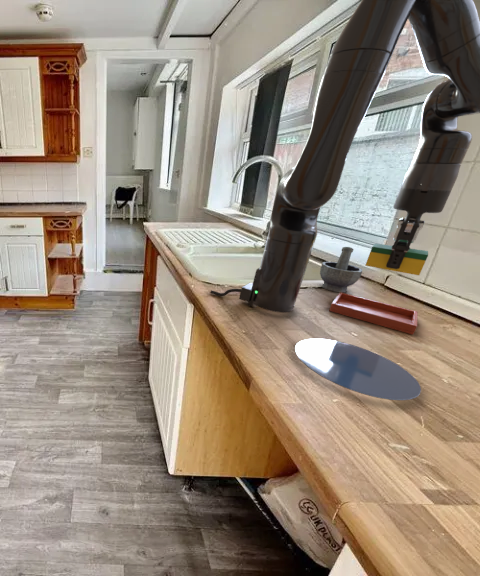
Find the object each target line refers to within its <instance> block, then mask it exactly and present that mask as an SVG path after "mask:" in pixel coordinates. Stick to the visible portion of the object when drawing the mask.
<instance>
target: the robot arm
mask: <svg viewBox="0 0 480 576" xmlns="http://www.w3.org/2000/svg"><path fill="white" fill-rule="evenodd" d="M479 16H480V15H479V13H478V10H477V6H476V3H475V1H474V0H361V1H360V3H359V4H358V6H357V8H356V9H355V10H354V12H353V13H352V15H351V17H350V18H349V20H348V21H347V23H346V25H345V26H344V28H343V29H342V30H341V32H340V34H339V36H338V38H337V40H336V42H335V43H334V45H333V47H332V50H331V52H330V55H329V56H328V57H329V58H328V60H327V62H326V65H325V68H324V71H323V73H322V77H321V79H320V81H319V82H320V83H319V85H318V88H317V92H316V96H315V102H314V109H313V115H312V122H311V128H310V131H309V134H308V137H307V140H306V143H305V145H304V147H303V149H302V151H301V155H300V157H299V158H298V161H297V162H296V164H295V166H294V167H292V168H291V169H289V170H287V171H286V172H285V173H284V175H283V176H282V178H281V179H280V181H279V183H278V186H277V190H276V193H275V198H274V202H273V206H272V211H271V214H270V219H269V229H268V234H267V238H266V242H265V246H264V250H263V253H262V257H261V261H260V264H259V267H258V268H256V270H255V273H254V277H253V281H252V282H248V283H247V284H245V285H243V286H242V287H241V288H230V289H227V290H226V291H224V292H218V291H215V290H212V289H211V290H210V294H213V295H214V296H218V297H225V296H227V295H228V294H230V293H239V297H238V300H241V301H245V302H247V306H249V307H252V308H253V309H255V308H257V307H258V308H261V309H264V310H267V311H270V312H277V313H290V312H293V311H294V308H295V305H296V302H297V299H298V295H299V293H300V290H301V286H302V283H303V280H304V277H305V274H306V271H307V268H308V264H309V261H310V258H311V256H312V252H313V249H314V245H315V242H316V239H317V236H318V216H319V213H320V210H321V208H323V206H325V205H326V204H327V203H328V202H329V201H330V200H332V199H333V197H334V195H335V193H336V192H337V189H338V187H339V184H340V181H341V177H342V174H343V172H344V169H345V164H346V161H347V159H348V155H349V152H350V149H351V147H352V144H353V142H354V139H355V136H356V134H357V132H358V130H359V128H360V126H361V124H362V122H363V121H364V118H365V116H366V114H367V112H368V109H369V107H370V105H371V103H372V101H373V99H374V96H375V94H376V92H377V90H378V88H379V86H380V84H381V82H382V81H383V77H384V76H385V74H386V71H387V68H388V66H389V64H390V62H391V60H392V57H393V55H394V52H395V50H396V47H397V45H398V42H399V40H400V38H401V34H402V33H403V30H404V28H405V27H406V24H407V22H409V24H410V27H411V29H412V32H413V35H414V37H415V41H416V45H417V48H418V51H419V54H420V58H421V60H422V63H423V67H424V69H425V71H426V73H428V74H429V75H433V76H437V75H439V76H445V77H447V78H448V79H445V80H443V81H441V82H440V83H438V84H437V85H436V86H435V87H434V88H433V89H432V90H431V91H430V93H429V94H428V95H427V97H426V99H425V101H424V103H423V106H422V112H421V121H420V136H419V137H420V139H419V144H418V147H417V149H416V152H415V154H414V156H413V160H412V161H411V164H410V166H409V168H408V169H407V172H406V173H405V175H404V178H403V181H402V183H401V186H400V188H399V191H398V193H397V195H396V199H395V201H394V203H393V206H392V207H393V209H394V210H397V211H403V212H405V211H406V216H405V217H404V218H403V217H401V218H399V219H398V222H397V224H396V230H395V233H394V235H393V241H394V242H393V244H392V245H391V246H392V248H391V249H392V252H391V255H390V257H389V260H388V262H387V264H386V267H388V268H393V269H399V268H400V265H401V263H402V261H403V258H404V256H405V254H406V253H407V251H409V249H411V247H410V246H411V244H414V243H415V242H416V239H417V238H418V235H419V233H420V232H421V231H422V229H423V228H424V225H425V222H426V221H425V220H422V216H423V215H424V214H426V213H427V214H440V213H441V212H443V210H444V208H445V205H446V204H447V201H448V199H449V197H450V195H451V193H452V190H453V188H454V186H455V183H456V181H457V179H458V177H459V174H460V169H461V166H462V164H463V161H464V159H465V157H466V154H467V152H468V150H469V148H470V146H471V143H472V141H473V134H472V133H471V132H470V131H467V130H461V129H458V121H459V117H465V116H472V115H478V114H480V17H479Z"/></svg>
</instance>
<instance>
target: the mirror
mask: <svg viewBox="0 0 480 576" xmlns="http://www.w3.org/2000/svg"><path fill="white" fill-rule="evenodd" d="M294 352H295V354H296V357H298V359H299V360H300V361H301V362H302V363H303V364H304V365H305V366H306V367H307V368H308V369H310V370H311V371H313V372H314V373H315V374H317V375H319V376H321V377H322V378H324V379H325V380H328V381H329V382H332V383H333V384H336V385H338V386H340V387H342V388H345V389H347V390H350V391H353V392H356V393H359V394H361V395H364V396H365V395H366V396H369V397H373V398H378V399H384V400H390V401H409V400H413V399H416V398H418V397H419V396H420V394H421V392H422V387H421V385H420V383H419V381H418V380H417V379H416V377H414V376H413V375H412V374H411V373H410V372H409V371H407V369H405V368H403V367H402V366H400V365H399V364H397V363H396V362H394V361H392V360H391V359H388V358H386V357H385V356H383V355H381V354H378V353H376V352H374V351H372V350H368V349H366V348H363V347H360V346H359V345H354V344H352V343H347V342H344V341H339V340H334V339H327V338H307V339H303V340H300V341H298V342H297V343H296V344H295V346H294Z"/></svg>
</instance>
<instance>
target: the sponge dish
mask: <svg viewBox="0 0 480 576" xmlns="http://www.w3.org/2000/svg"><path fill="white" fill-rule="evenodd" d="M328 311H329V312H332V313H335V314H339V315H343V316H346V317H350V318H353V319H356V320H360V321H364V322H367V323H371V324H374V325H378V326H381V327H383V328H384V327H385V328H388V329H392V330H394V331H399V332H402V333H406V334H409V335H414V334H415V332H416V330H417V328H418V313H419V312H418V311H417V310H413V309H408V308H404V307H401V306H397V305H392V304H388V303H385V302H381V301H377V300H374V299H369V298H366V297H365V298H364V297H360V296H357V295H353V294H350V293H349V294H348V293H346V292H338V294H337V296H336V297H335V298H334V300H333V301H332V302H331V305H330V307H329V310H328Z"/></svg>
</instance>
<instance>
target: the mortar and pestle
mask: <svg viewBox="0 0 480 576" xmlns="http://www.w3.org/2000/svg"><path fill="white" fill-rule="evenodd" d="M353 252H354V248H352V247H350V246H343V247H342V248H341V253H340V254H339V257H338V260H337V261H323V262H322V263H321V266H320V268H319V269H320V270H319V275H320V279H321V280H322V281H323V282H324V284H323V283H322V284H321V288H323V289H325V290H328V291H332V292H335V293H340V292H341V293H347V290H348V287H350V286H353V285H354V284H355V283H357V282H358V281H359V279H360V278H361V276H362V273H363V268H360V267H358V266H356V265H352V264H349V263H350V259H351V255H352V253H353Z"/></svg>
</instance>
